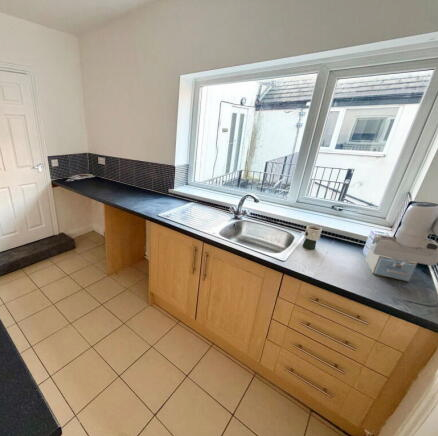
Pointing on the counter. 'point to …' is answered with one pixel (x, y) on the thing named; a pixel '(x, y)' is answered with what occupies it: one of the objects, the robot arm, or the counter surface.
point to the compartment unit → (374, 260)
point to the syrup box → (372, 239)
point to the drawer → (394, 269)
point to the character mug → (311, 237)
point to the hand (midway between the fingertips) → (397, 267)
